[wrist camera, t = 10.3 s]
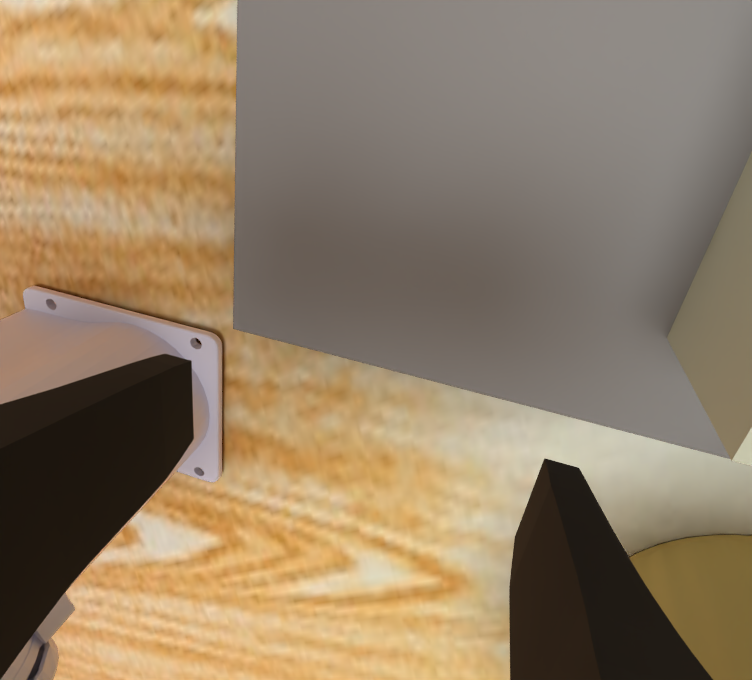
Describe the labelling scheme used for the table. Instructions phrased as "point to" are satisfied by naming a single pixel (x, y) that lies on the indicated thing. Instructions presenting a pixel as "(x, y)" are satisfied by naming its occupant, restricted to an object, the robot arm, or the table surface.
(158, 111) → the table surface
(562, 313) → the mounting board
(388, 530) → the table surface
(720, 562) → the potted cactus
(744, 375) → the pale green block
